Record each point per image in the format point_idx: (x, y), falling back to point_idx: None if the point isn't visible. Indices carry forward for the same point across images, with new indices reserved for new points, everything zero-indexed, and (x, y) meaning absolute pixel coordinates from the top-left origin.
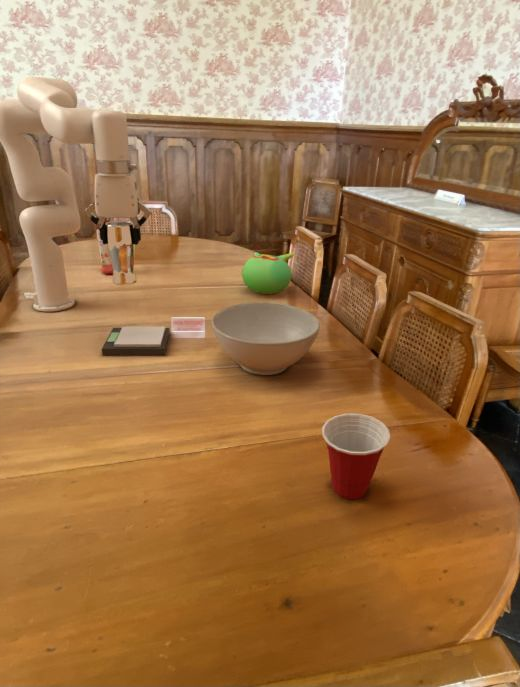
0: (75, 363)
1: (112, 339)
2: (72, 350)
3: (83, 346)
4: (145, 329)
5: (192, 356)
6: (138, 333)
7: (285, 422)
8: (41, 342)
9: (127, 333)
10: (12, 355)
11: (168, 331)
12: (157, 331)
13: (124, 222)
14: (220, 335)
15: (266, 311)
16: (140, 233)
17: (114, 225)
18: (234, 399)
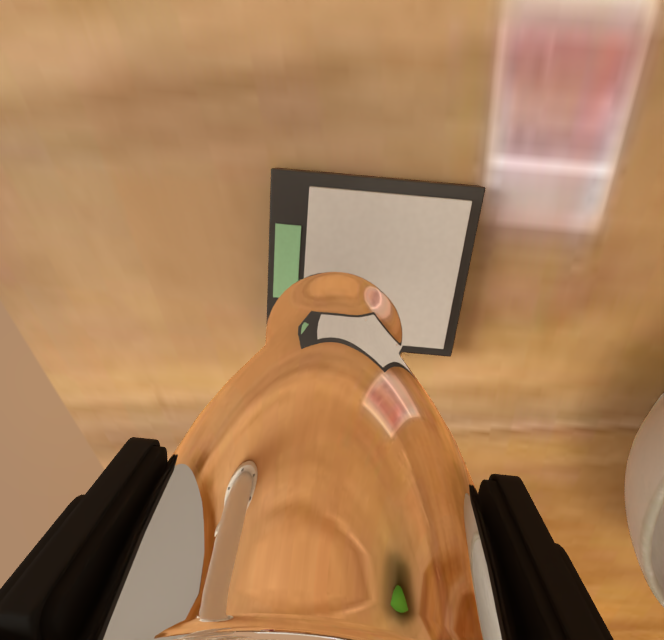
0: (209, 367)
1: (287, 283)
2: (175, 289)
3: (199, 263)
4: (395, 225)
5: (526, 360)
6: (371, 260)
7: (642, 612)
8: (57, 221)
9: (333, 256)
10: (21, 305)
11: (477, 225)
12: (438, 247)
13: (370, 635)
14: (644, 576)
15: None
16: (594, 610)
17: (164, 580)
18: (575, 545)
